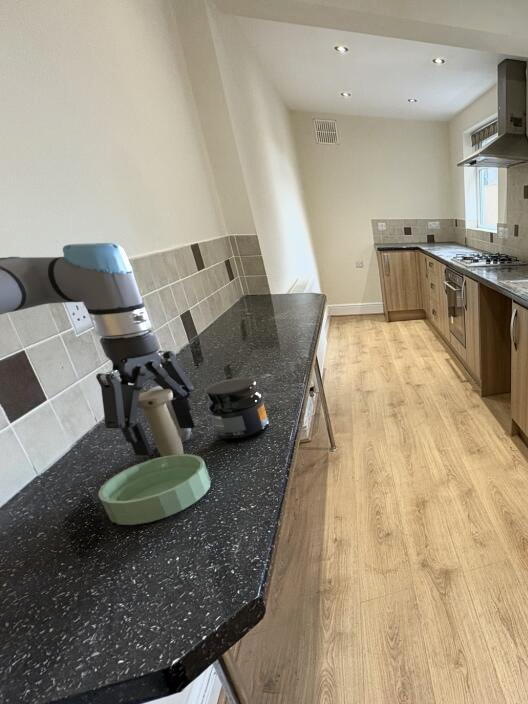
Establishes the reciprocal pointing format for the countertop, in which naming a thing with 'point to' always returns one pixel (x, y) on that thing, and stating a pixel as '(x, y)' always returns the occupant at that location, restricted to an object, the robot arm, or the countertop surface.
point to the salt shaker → (175, 419)
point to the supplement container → (236, 410)
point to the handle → (161, 421)
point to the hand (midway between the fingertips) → (167, 440)
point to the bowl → (155, 489)
